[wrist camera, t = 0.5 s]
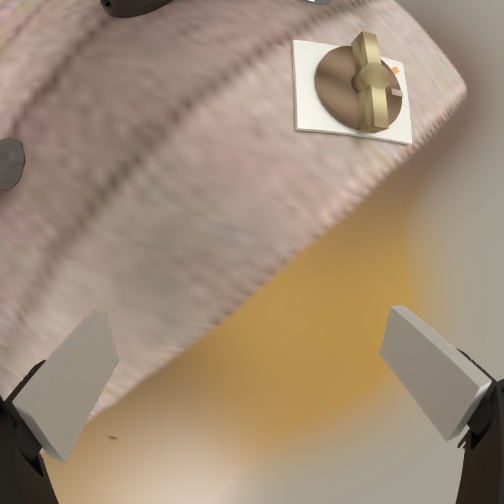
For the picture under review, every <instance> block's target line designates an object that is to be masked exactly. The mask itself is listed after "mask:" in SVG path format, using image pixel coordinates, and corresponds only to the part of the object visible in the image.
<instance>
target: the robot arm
mask: <svg viewBox="0 0 504 504" xmlns="http://www.w3.org/2000/svg"><path fill="white" fill-rule="evenodd" d="M170 1H171V0H100V3H101V5H102V6H103V8H104V9H105V10H106V12H107V13H109V14H110V15H112V16H116V17H132V16H137V15H141V14H145V13H148V12H150V11H153V10H155V9H157V8H160V7H161V6H163V5H165V4H167V3H168V2H170ZM379 354H380V355H381V357H382V358H383V359H384V360H385V362H386V363H387V364H388V366H389V367H390V368H391V369H392V371H393V372H394V373H395V375H396V376H397V377H398V378H399V380H400V381H401V382H402V384H403V385H404V386H405V387H406V389H407V390H408V391H409V393H410V394H411V395H412V397H413V398H414V399H415V400H416V402H417V403H418V405H419V406H420V407H421V408H422V410H423V411H424V413H425V414H426V415H427V417H428V418H429V419H430V421H431V422H432V423H433V425H434V426H435V427H436V429H437V430H438V431H439V433H440V434H441V436H442V437H443V438H444V440H445V441H446V442H447V441H449V440H451V439H452V438H454V437H456V436H458V435H459V434H460V433H461V432H462V430H463V429H464V427H465V426H466V424H467V425H468V426H469V428H470V429H469V430H468V432H467V433H466V434H465V436H464V437H463V439H462V440H461V442H460V443H459V444H458V448H460V447H461V445H462V444H463V443H464V441H466V443H465V445H464V447H463V448H464V449H465V454H464V461H463V469H462V475H461V481H460V486H459V491H458V495H457V500H456V504H504V379H502V380H500V381H498V382H497V381H496V380H495V379H493V378H492V377H491V376H490V375H489V374H488V373H487V372H486V371H485V370H483V369H482V368H481V367H480V366H479V365H476V363H475V362H474V361H473V360H471V358H470V357H469V356H468V355H466V354H465V353H464V352H462V351H460V350H459V349H457V348H455V347H453V346H452V345H451V344H450V343H449V342H447V341H446V340H445V339H444V338H443V337H441V335H439V334H438V333H437V332H436V331H434V330H433V329H432V328H431V327H430V326H428V325H427V324H426V323H425V322H423V321H422V320H421V319H420V318H418V317H417V316H416V315H415V314H414V313H412V312H411V311H410V310H409V309H407V308H406V307H405V306H404V305H399V306H391V307H390V312H389V317H388V321H387V326H386V330H385V334H384V338H383V342H382V345H381V349H380V353H379ZM118 362H119V359H118V355H117V351H116V347H115V343H114V339H113V335H112V331H111V327H110V322H109V318H108V313H107V311H98V310H93V311H92V312H91V313H90V314H89V315H88V316H87V317H86V318H85V319H84V320H83V321H82V322H81V323H80V324H79V325H78V326H77V327H76V329H75V330H74V331H73V332H72V333H71V334H70V335H69V336H68V337H67V338H66V339H65V340H64V341H63V342H62V344H61V345H60V346H59V347H58V348H57V349H56V350H55V351H54V352H53V353H52V355H51V356H50V357H49V358H48V359H47V360H43V361H41V362H40V363H38V364H37V365H35V366H34V367H33V368H32V369H31V370H30V372H29V373H28V375H26V376H25V377H24V378H23V381H21V382H20V383H19V384H18V386H17V387H16V388H15V389H14V390H13V392H12V393H11V394H10V395H9V396H8V398H7V399H6V400H5V401H3V399H2V397H1V396H0V504H59V503H58V501H57V498H56V496H55V493H54V490H53V488H52V485H51V482H50V479H49V476H48V473H47V470H46V467H45V464H44V461H43V458H42V456H41V454H40V453H39V452H40V450H41V448H42V447H43V449H44V450H45V451H46V453H47V454H48V455H49V456H50V457H52V458H54V459H57V460H59V461H61V462H64V463H67V461H68V459H69V457H70V454H71V452H72V450H73V448H74V446H75V443H76V442H77V439H78V437H79V435H80V433H81V431H82V429H83V427H84V425H85V423H86V421H87V419H88V417H89V415H90V413H91V411H92V409H93V408H94V406H95V404H96V402H97V400H98V398H99V396H100V394H101V392H102V391H103V389H104V387H105V385H106V383H107V381H108V380H109V378H110V376H111V374H112V372H113V371H114V369H115V367H116V365H117V363H118Z"/></svg>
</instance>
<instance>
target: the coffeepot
mask: <svg viewBox="0 0 504 504" xmlns="http://www.w3.org/2000/svg"><path fill="white" fill-rule="evenodd" d="M23 167H24V150H23V147H22V143H21V142H18V141H16V140H14V139H12V138H11V139H3V140H0V189H1V190H7V191H8V190H9V189H10V188H12V187H13V186H14V185H15V184H16V183H17V182H18V181H19V179H20V177H21V174H22V171H23Z"/></svg>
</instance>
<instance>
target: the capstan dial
mask: <svg viewBox="0 0 504 504" xmlns="http://www.w3.org/2000/svg"><path fill="white" fill-rule="evenodd" d="M351 45H352V46H342V47H337V48H335V49H332V50H331V51H329V52H328V53H327V54H326V55H325V56H324V57H323V58H322V60H321V61H320V62H319V64H318V66H317V68H316V71H315V87H316V91H317V94H318V96H319V98H320V100H321V102H322V104H323V105H324V107H325V108H326V109H327V110H328V112H329V113H330V114H331V115H332V116H333V117H334V118H336V119H337V120H338V121H339V122H341V123H343V124H344V125H346V126H348V127H350V128H353V129H356V130H360V132H366V133H372V134H374V133H377V132H380V131H383V130H387V129H389V125H390V124H392V123H393V122H394V121H395V120H396V119H397V117H398V115H399V113H400V111H401V106H402V98H403V91H401V88H400V85H399V83H398V80H397V78H396V76H395V75H394V73H393V72H392V70H391V69H390V68H389V66H388V65H387V64H386V63H385V62H384V61H383V60H382V59H380V53H379V48H378V43H377V38H376V35H375V34H372V33H368V32H364V31H362V32H361V33H360V34H359V35H358V36H357V37H356V38H355V40H354V41H353V42H352V43H351Z"/></svg>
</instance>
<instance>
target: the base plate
mask: <svg viewBox="0 0 504 504" xmlns="http://www.w3.org/2000/svg"><path fill="white" fill-rule="evenodd" d="M337 47H339V46H334V45H328V44H322V43H316V42H308V41H301V40H293V41H292V44H291V48H292V64H293V83H294V107H295V131H309V132H322V133H332V134H341V135H349V136H357V137H364V138H371V139H377V140H383V141H389V142H395V143H400V144H405V145H408V144H412V135H411V122H410V111H409V102H408V94H407V87H406V81H405V75H404V69H403V64H402V63H400V62H397V61H394V60H391V59H387V58H384V57H381V56H380V59H382V60H383V61H384V62H385V63H386V64H387V65H388V66H389V68H390V69H391V70H392V72H393V73H394V75H395V76H396V78H397V80H398V83H399V85H400V88H401V91H403V98H402V106H401V111H400V113H399V115H398V117H397V119H396V120H395V121H394V122H393V123H392V124H390V125H389V129H387V130H383V131H380V132H377V133H374V134H372V133H366V132H360V130H356V129H353V128H350V127H348V126H346V125H344V124H343V123H341V122H339V121H338V120H337V119H336V118H334V117H333V116H332V115H331V114H330V113H329V112H328V110H327V109H326V108H325V107H324V105H323V104H322V102H321V100H320V98H319V96H318V94H317V91H316V87H315V71H316V68H317V66H318V64H319V62H320V61H321V60H322V58H323V57H324V56H325V55H326V54H327V53H328V52H329V51H331V50H332V49H335V48H337Z"/></svg>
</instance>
